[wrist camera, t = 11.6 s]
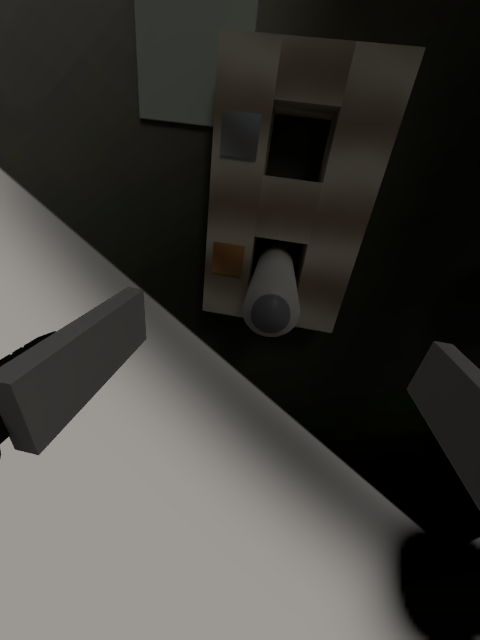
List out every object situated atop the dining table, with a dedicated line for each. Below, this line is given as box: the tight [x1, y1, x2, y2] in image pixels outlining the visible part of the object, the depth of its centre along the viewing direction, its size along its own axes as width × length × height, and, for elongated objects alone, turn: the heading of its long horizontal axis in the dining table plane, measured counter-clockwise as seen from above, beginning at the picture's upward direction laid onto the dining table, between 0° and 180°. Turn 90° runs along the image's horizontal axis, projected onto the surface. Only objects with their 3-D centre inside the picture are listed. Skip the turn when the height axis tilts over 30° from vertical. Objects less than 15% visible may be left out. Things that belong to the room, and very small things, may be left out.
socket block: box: [203, 29, 426, 333], centre depth 24 cm, size 22×14×4 cm, turn 172°
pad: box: [134, 0, 259, 127], centre depth 22 cm, size 10×10×1 cm
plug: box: [242, 243, 300, 337], centre depth 22 cm, size 4×4×15 cm
